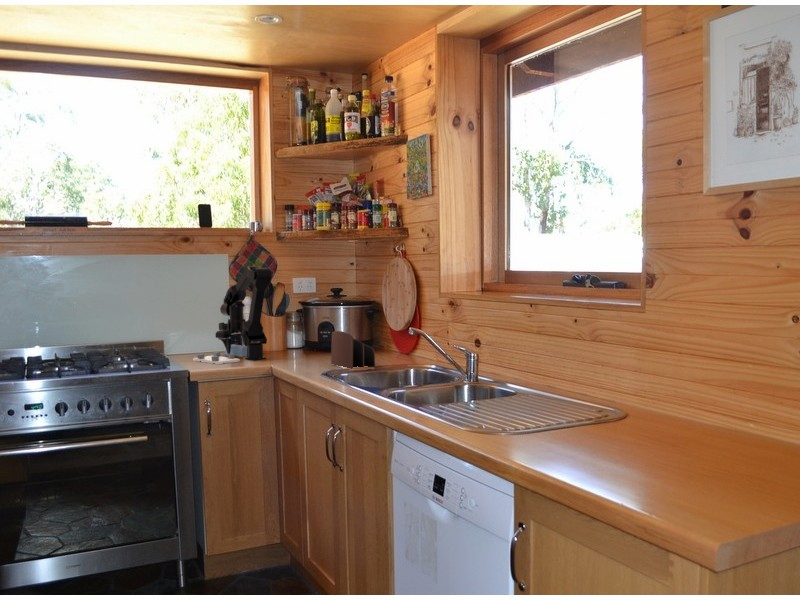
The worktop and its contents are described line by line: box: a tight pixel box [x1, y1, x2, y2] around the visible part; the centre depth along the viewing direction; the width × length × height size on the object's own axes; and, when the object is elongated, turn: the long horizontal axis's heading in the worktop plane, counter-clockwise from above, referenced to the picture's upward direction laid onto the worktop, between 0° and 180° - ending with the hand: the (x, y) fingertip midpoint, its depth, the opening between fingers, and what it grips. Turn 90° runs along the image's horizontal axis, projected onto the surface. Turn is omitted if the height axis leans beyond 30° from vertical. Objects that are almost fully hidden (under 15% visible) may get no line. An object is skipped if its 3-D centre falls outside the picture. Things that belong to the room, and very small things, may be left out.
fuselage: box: [224, 343, 247, 358], centre depth 313 cm, size 14×4×4 cm, turn 49°
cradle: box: [192, 351, 241, 365], centre depth 296 cm, size 18×10×3 cm, turn 49°
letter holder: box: [330, 330, 376, 369], centre depth 276 cm, size 10×20×14 cm, turn 28°
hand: (237, 352), depth 313 cm, fingers open, 9 cm apart
